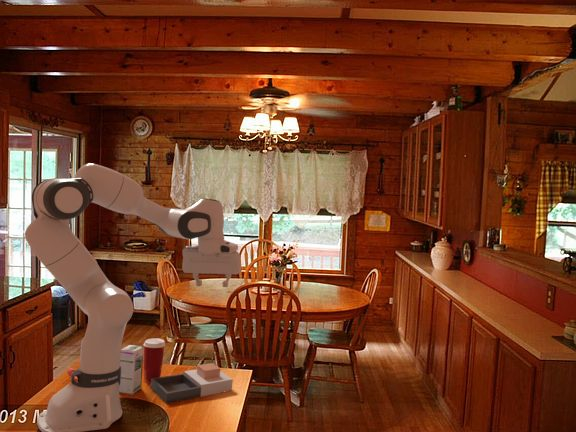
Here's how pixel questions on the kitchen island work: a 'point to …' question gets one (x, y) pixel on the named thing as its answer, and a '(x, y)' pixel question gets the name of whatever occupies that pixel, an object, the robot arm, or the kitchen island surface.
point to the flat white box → (211, 383)
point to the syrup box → (131, 369)
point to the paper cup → (153, 358)
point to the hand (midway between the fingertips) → (212, 286)
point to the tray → (175, 388)
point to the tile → (208, 371)
